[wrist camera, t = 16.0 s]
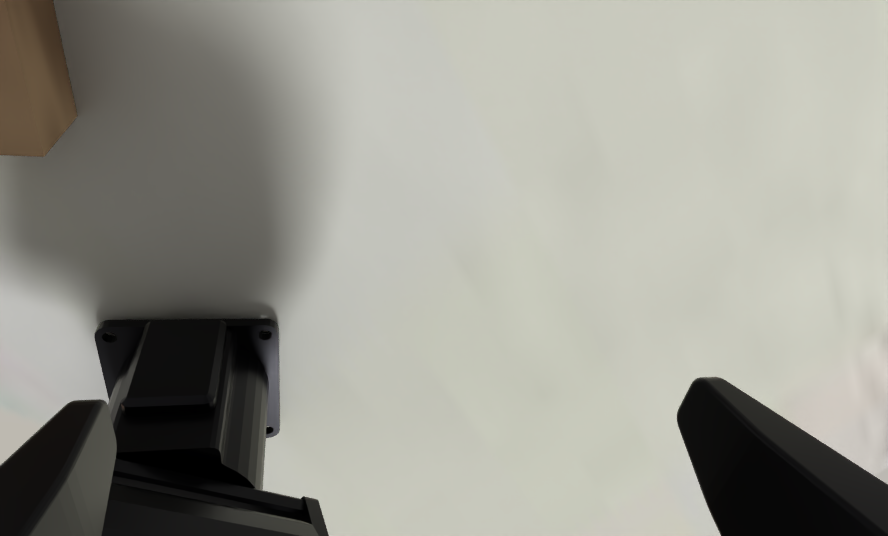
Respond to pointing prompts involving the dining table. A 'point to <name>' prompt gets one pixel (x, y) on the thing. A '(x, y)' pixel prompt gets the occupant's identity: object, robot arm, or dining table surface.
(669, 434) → the dining table surface
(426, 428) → the dining table surface
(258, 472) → the robot arm
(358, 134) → the dining table surface
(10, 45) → the brown wooden slab
